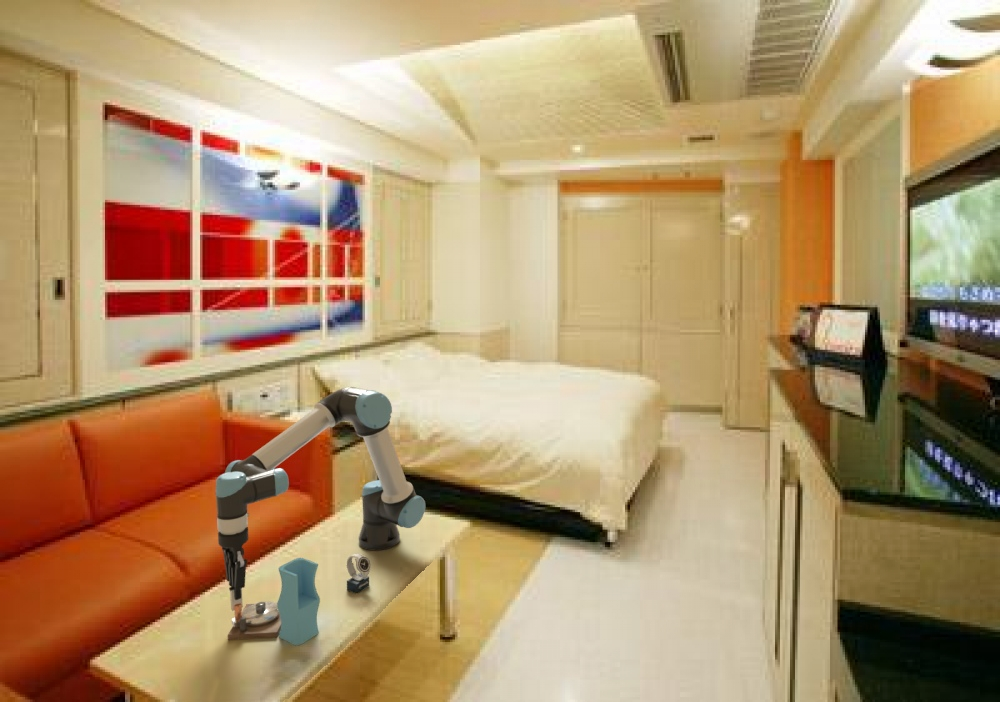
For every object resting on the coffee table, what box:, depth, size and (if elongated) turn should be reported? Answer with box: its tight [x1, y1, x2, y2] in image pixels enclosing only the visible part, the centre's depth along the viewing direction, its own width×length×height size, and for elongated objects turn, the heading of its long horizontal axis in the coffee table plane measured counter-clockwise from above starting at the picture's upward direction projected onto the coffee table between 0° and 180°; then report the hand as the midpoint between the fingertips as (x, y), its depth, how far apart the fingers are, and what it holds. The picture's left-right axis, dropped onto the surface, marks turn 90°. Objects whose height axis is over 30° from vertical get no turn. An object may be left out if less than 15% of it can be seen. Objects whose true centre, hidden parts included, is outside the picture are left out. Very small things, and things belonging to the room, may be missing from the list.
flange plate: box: [231, 601, 280, 628], centre depth 162 cm, size 12×10×6 cm
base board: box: [227, 603, 281, 641], centre depth 163 cm, size 15×13×5 cm
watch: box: [346, 552, 372, 595], centre depth 181 cm, size 6×8×11 cm
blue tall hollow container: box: [276, 557, 321, 646], centre depth 156 cm, size 8×8×20 cm
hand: (236, 608), depth 159 cm, fingers closed
